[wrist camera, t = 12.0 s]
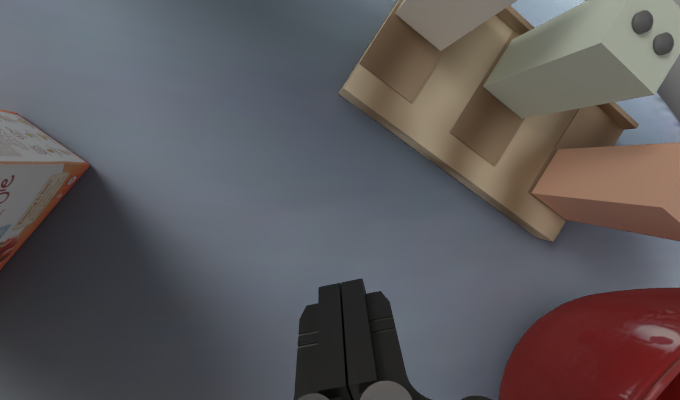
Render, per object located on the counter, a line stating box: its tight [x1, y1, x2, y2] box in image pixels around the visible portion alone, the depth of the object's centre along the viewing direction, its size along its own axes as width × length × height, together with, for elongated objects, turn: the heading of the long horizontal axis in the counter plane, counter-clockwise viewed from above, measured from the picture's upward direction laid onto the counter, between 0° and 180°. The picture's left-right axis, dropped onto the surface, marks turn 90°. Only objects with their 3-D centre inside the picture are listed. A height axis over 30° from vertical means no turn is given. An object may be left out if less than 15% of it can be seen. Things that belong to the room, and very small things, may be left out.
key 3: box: [532, 143, 680, 241], centre depth 25 cm, size 4×4×10 cm
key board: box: [338, 0, 639, 242], centre depth 28 cm, size 23×12×3 cm, turn 57°
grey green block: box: [483, 0, 680, 119], centre depth 23 cm, size 4×4×10 cm
